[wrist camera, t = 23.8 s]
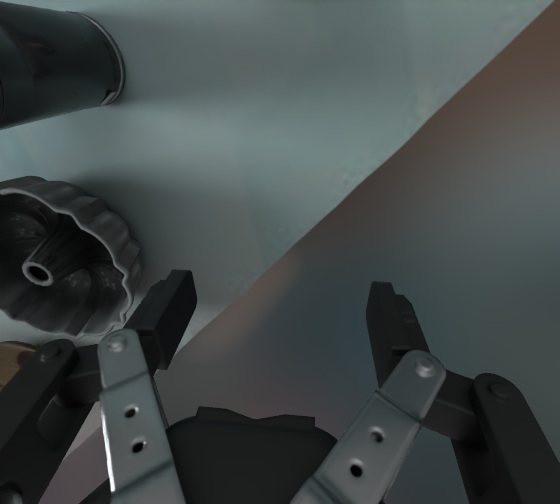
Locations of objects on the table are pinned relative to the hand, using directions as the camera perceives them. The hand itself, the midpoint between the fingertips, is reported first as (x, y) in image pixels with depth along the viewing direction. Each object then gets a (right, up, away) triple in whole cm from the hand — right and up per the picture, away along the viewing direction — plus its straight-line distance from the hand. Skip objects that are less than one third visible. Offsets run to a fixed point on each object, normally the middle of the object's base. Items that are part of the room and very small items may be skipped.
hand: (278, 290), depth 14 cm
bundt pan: (-33, +4, +38) cm, 50 cm away
